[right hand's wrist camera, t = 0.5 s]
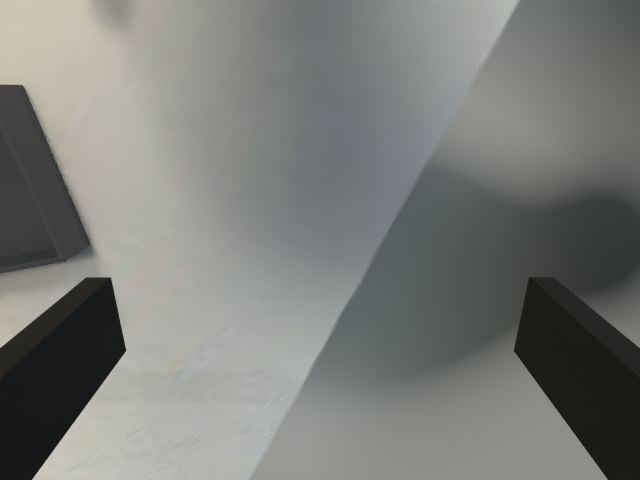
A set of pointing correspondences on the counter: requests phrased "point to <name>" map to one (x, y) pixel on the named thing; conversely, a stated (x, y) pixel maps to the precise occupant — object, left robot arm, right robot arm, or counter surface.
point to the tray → (32, 192)
